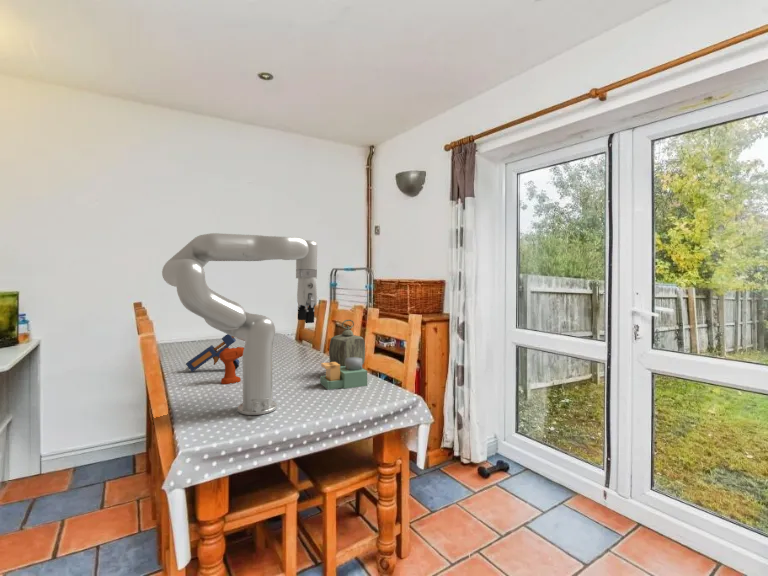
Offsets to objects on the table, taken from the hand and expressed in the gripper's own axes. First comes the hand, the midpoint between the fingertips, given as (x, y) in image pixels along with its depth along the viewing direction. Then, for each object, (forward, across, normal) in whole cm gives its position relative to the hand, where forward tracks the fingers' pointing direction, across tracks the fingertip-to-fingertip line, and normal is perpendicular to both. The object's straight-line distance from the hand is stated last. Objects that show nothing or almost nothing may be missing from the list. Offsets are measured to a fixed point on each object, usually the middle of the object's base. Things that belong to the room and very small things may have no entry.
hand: (305, 321), depth 147 cm
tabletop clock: (+28, +23, -26) cm, 45 cm away
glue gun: (+28, +55, +27) cm, 67 cm away
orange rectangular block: (+28, +10, -15) cm, 33 cm away
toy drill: (+28, +33, +18) cm, 47 cm away
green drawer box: (+28, +10, -19) cm, 35 cm away
